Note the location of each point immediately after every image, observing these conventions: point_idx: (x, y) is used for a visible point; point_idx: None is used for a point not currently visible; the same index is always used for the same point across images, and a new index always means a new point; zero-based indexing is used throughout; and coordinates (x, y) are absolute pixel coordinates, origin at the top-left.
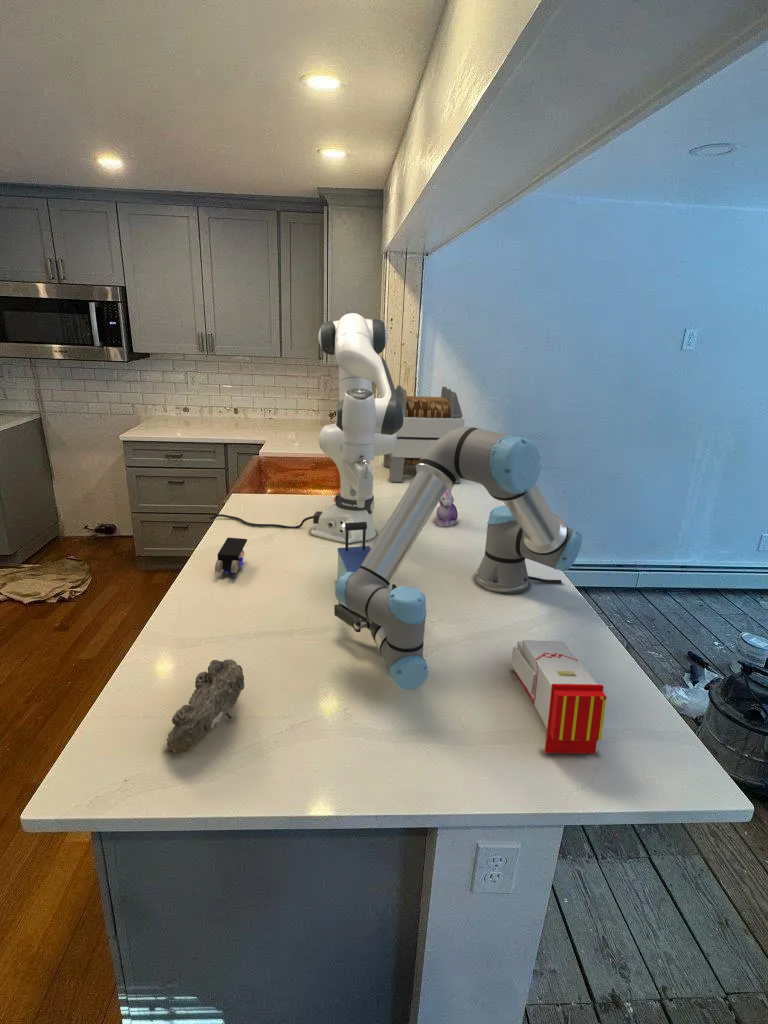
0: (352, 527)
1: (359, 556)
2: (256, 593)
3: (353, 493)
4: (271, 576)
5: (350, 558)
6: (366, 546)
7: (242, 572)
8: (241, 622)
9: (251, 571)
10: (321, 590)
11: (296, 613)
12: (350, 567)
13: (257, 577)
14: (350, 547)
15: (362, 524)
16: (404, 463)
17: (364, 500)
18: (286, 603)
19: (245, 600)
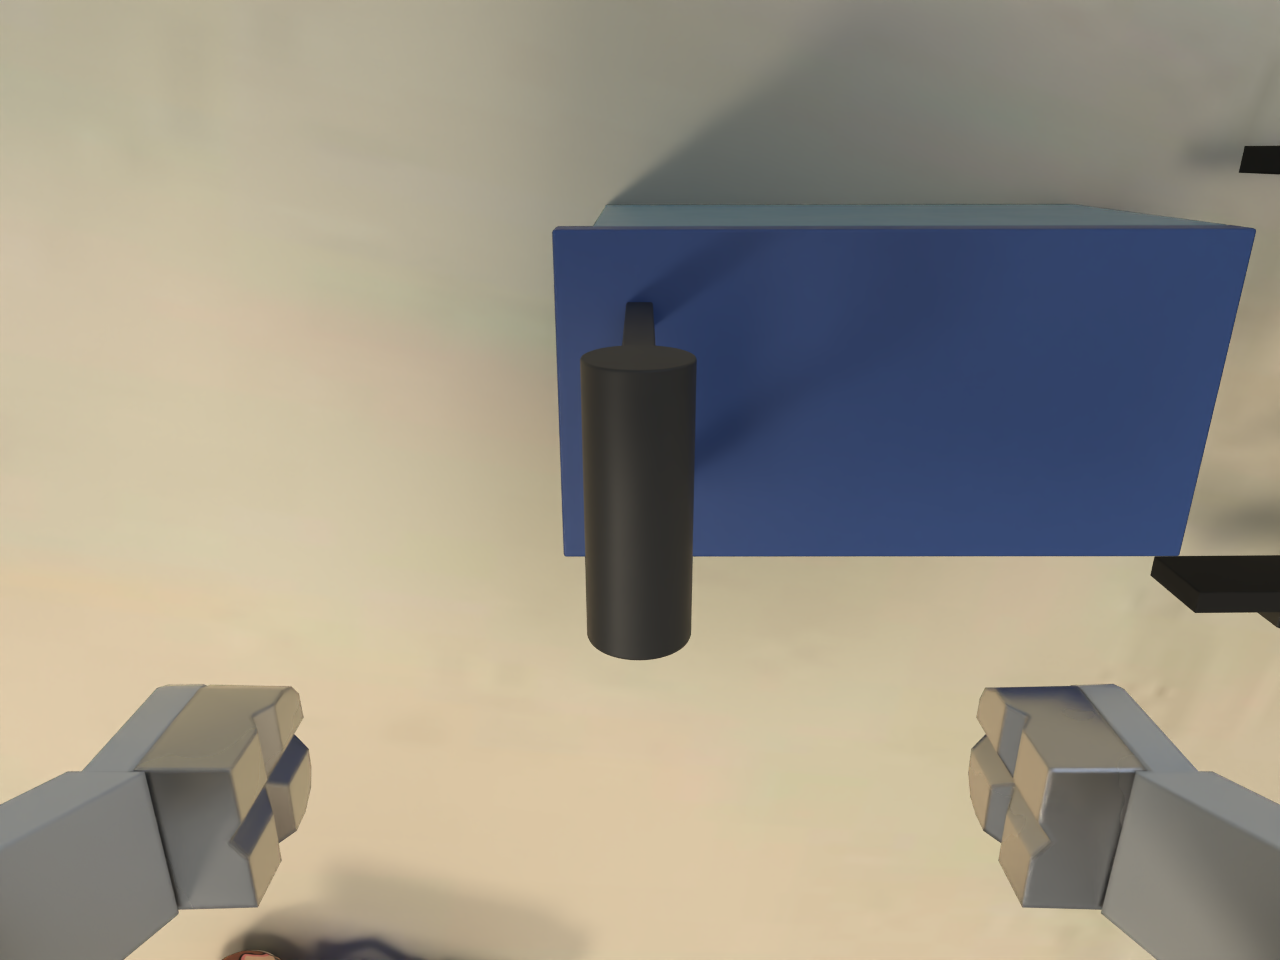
0: (691, 559)
1: (808, 396)
2: (673, 886)
3: (268, 784)
4: (471, 809)
5: (833, 489)
6: (570, 266)
7: (401, 936)
8: (955, 953)
9: (391, 897)
10: (712, 565)
11: (953, 728)
12: (1021, 526)
13: (475, 874)
14: (571, 437)
15: (680, 432)
16: None
17: (1246, 800)
18: (825, 763)
19: (739, 933)
